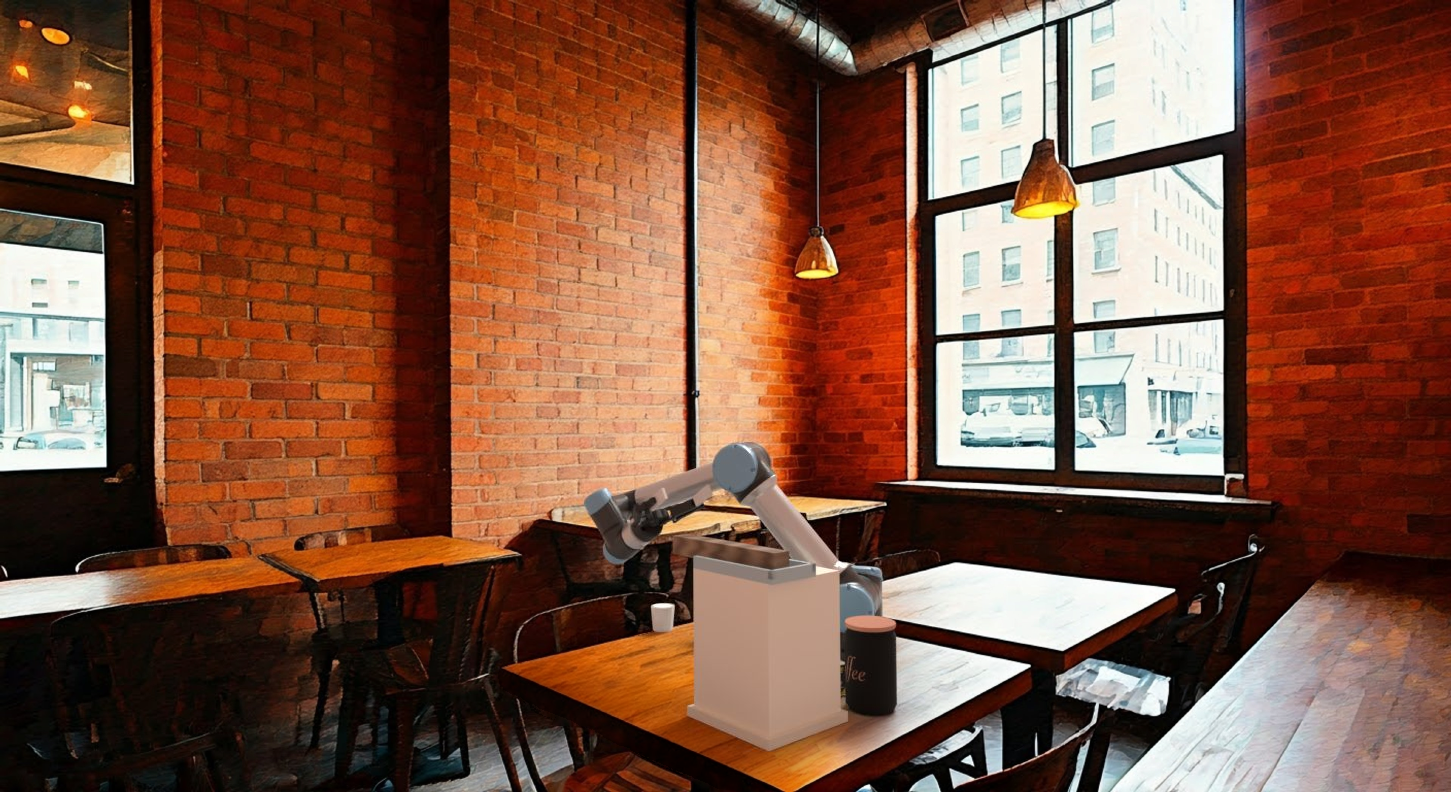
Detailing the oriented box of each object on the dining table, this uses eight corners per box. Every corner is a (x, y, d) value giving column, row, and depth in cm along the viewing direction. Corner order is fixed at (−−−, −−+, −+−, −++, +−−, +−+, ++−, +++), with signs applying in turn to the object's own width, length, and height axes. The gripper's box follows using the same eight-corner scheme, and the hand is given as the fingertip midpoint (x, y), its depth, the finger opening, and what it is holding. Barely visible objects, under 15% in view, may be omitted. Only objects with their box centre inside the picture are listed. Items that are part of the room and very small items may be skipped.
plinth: (687, 715, 165) (686, 568, 166) (764, 691, 180) (763, 555, 180) (768, 751, 147) (767, 585, 148) (847, 721, 161) (846, 570, 162)
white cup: (671, 633, 229) (671, 608, 229) (647, 632, 231) (647, 607, 231) (677, 627, 236) (677, 603, 236) (654, 626, 237) (654, 602, 238)
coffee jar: (840, 700, 174) (839, 616, 174) (888, 698, 175) (887, 614, 175) (852, 718, 163) (851, 628, 164) (903, 716, 164) (902, 627, 165)
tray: (693, 568, 166) (693, 556, 166) (736, 561, 174) (736, 549, 174) (771, 585, 149) (771, 571, 149) (816, 576, 156) (815, 563, 157)
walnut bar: (672, 553, 178) (672, 535, 178) (687, 551, 180) (687, 534, 181) (774, 574, 154) (774, 553, 154) (789, 571, 156) (789, 550, 156)
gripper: (686, 537, 211) (732, 502, 197) (605, 548, 195) (649, 509, 181) (677, 511, 214) (722, 474, 200) (596, 519, 198) (639, 480, 184)
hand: (688, 491), depth 191 cm, fingers open, 13 cm apart
